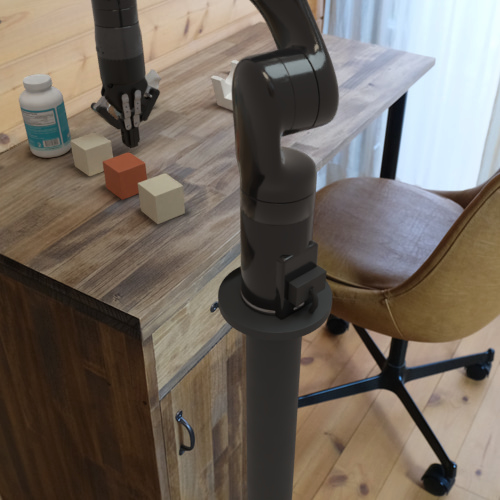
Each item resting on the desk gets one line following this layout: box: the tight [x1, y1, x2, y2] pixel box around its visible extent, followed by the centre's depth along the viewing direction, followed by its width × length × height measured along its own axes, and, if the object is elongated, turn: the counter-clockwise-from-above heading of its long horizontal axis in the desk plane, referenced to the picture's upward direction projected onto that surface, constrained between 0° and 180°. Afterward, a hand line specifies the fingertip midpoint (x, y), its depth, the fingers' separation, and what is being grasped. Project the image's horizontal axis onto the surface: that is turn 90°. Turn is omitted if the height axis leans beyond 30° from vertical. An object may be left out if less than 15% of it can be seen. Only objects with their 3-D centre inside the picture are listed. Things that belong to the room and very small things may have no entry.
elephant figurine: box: [108, 68, 162, 109], centre depth 129 cm, size 10×12×9 cm
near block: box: [138, 172, 186, 225], centre depth 99 cm, size 5×5×5 cm
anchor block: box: [103, 151, 148, 201], centre depth 105 cm, size 5×5×5 cm
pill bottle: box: [18, 73, 72, 159], centre depth 114 cm, size 8×7×14 cm
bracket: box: [210, 59, 240, 111], centre depth 130 cm, size 13×7×8 cm, turn 49°
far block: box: [70, 131, 114, 177], centre depth 111 cm, size 5×5×5 cm
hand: (131, 145), depth 116 cm, fingers closed
